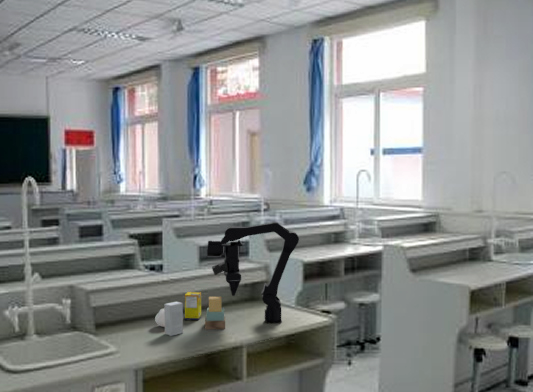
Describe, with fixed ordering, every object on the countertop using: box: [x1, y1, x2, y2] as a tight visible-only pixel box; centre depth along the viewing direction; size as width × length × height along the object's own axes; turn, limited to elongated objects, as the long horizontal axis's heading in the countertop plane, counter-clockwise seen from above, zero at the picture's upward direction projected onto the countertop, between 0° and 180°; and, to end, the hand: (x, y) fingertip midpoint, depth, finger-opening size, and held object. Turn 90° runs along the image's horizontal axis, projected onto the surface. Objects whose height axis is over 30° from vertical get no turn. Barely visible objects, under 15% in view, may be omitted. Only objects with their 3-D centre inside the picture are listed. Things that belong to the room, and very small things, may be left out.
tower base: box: [204, 315, 226, 330], centre depth 241 cm, size 8×8×4 cm
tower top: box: [205, 307, 225, 321], centre depth 241 cm, size 7×7×4 cm
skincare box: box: [164, 301, 184, 337], centre depth 230 cm, size 6×4×12 cm
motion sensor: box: [154, 308, 165, 328], centre depth 240 cm, size 8×8×8 cm
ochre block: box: [208, 296, 223, 312], centre depth 240 cm, size 5×5×5 cm
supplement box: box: [184, 291, 202, 321], centre depth 253 cm, size 6×6×11 cm
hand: (232, 293), depth 248 cm, fingers open, 9 cm apart
